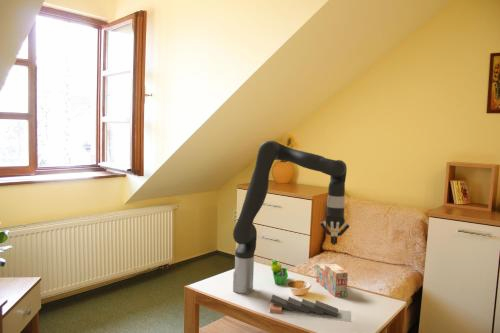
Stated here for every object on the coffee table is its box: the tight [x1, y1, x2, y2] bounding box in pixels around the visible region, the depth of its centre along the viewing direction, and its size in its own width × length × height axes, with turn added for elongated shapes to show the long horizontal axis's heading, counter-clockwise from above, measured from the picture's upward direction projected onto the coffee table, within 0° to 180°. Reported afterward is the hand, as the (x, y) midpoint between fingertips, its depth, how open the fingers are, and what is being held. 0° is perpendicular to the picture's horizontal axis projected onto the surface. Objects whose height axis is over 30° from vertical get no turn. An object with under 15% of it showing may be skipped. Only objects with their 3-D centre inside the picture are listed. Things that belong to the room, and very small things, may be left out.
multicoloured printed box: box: [316, 263, 349, 298], centre depth 197 cm, size 21×6×12 cm, turn 16°
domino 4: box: [301, 298, 324, 315], centre depth 170 cm, size 2×5×10 cm
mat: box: [280, 307, 352, 323], centre depth 170 cm, size 31×10×1 cm, turn 78°
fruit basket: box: [270, 259, 289, 285], centre depth 205 cm, size 11×9×11 cm
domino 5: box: [314, 299, 339, 317], centre depth 169 cm, size 2×5×10 cm
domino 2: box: [270, 294, 293, 311], centre depth 172 cm, size 2×5×10 cm
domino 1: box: [269, 302, 282, 314], centre depth 173 cm, size 2×5×10 cm
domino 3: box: [286, 296, 309, 313], centre depth 171 cm, size 2×5×10 cm
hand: (333, 244), depth 173 cm, fingers closed
